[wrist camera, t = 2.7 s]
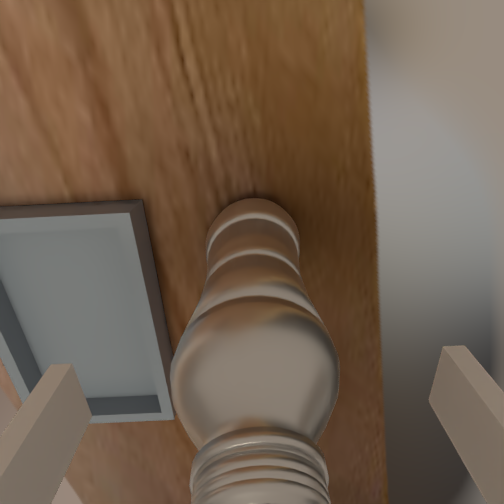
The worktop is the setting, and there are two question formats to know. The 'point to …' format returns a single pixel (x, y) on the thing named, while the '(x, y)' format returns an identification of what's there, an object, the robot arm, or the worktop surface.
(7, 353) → the tray
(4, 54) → the worktop surface
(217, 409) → the plastic bottle
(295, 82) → the worktop surface
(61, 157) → the worktop surface
